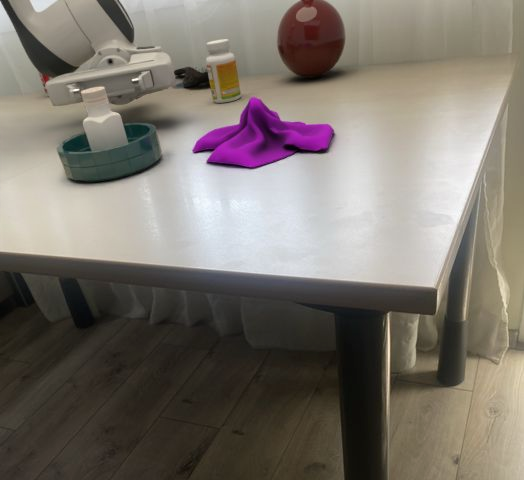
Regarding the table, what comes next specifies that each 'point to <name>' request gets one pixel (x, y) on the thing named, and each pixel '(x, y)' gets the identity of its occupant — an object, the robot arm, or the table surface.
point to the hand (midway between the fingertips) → (106, 90)
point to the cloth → (262, 138)
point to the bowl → (110, 155)
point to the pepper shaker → (102, 121)
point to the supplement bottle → (222, 72)
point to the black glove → (192, 76)
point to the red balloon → (311, 38)
